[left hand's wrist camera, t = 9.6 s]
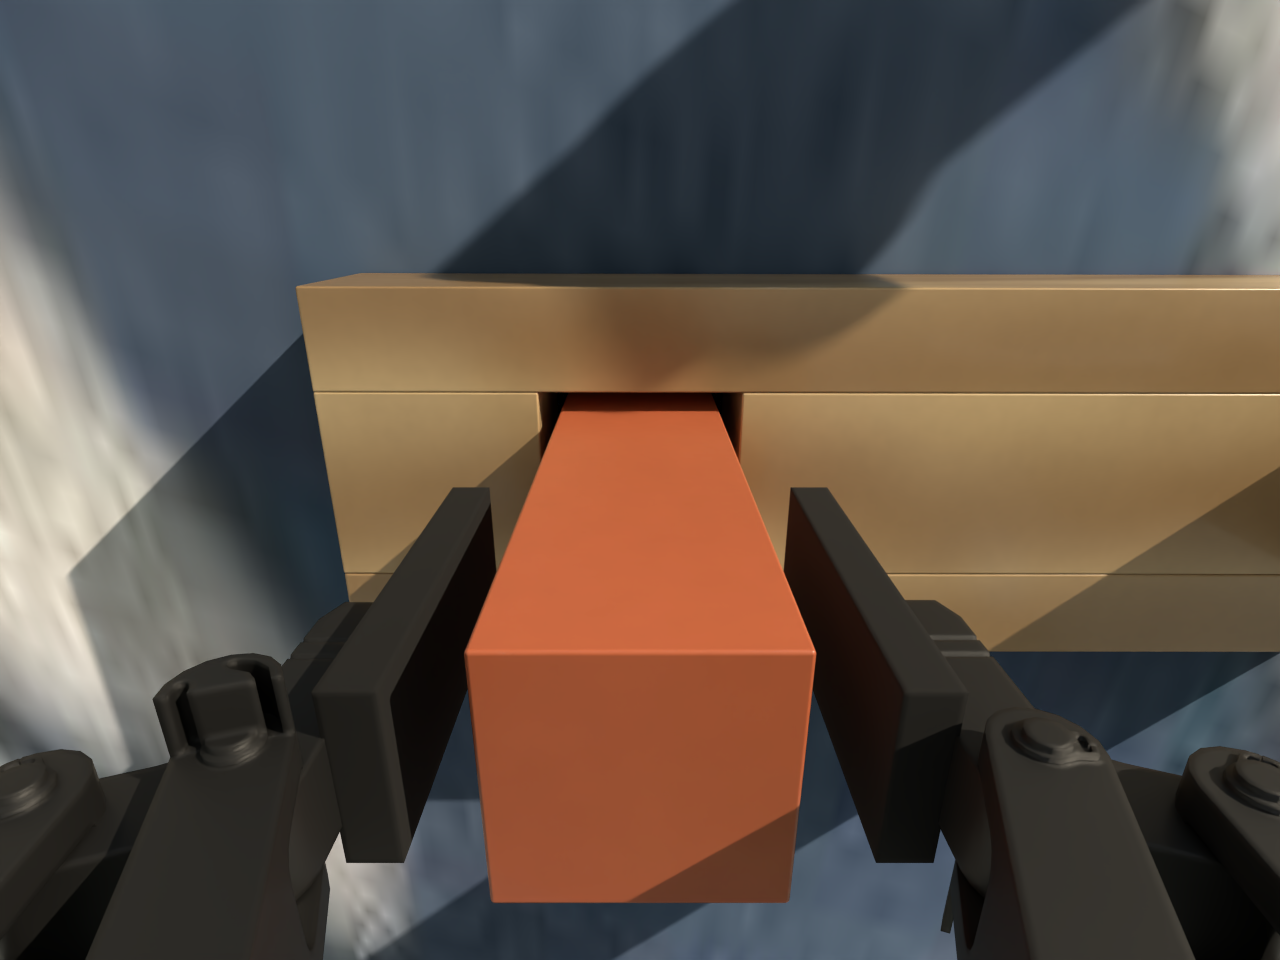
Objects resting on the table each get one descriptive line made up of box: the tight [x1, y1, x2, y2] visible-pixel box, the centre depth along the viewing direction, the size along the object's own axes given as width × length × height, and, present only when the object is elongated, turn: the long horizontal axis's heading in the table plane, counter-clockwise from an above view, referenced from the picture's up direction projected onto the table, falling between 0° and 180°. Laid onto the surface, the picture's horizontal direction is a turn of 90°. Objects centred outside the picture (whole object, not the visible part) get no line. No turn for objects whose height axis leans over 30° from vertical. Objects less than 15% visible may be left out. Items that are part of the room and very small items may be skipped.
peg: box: [464, 392, 816, 903], centre depth 15 cm, size 4×4×14 cm
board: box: [296, 273, 1280, 652], centre depth 16 cm, size 10×34×12 cm, turn 90°
